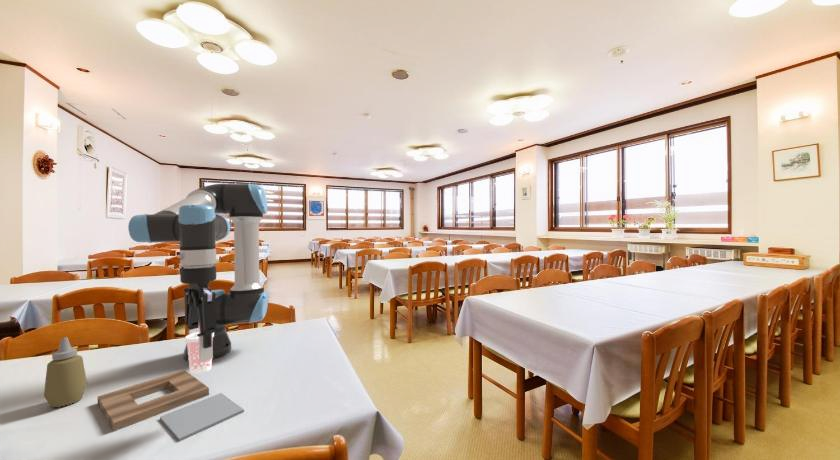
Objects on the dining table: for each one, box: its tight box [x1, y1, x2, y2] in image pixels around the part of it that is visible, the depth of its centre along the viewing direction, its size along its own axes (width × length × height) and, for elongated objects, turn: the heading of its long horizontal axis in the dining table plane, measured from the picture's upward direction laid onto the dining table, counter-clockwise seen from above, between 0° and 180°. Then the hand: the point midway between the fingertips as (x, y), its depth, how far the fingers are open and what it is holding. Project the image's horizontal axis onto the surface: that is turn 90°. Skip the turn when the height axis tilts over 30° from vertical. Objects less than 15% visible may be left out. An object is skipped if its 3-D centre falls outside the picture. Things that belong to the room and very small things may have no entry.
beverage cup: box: [184, 326, 214, 375], centre depth 82 cm, size 6×6×14 cm
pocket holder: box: [97, 369, 210, 432], centre depth 90 cm, size 20×20×2 cm
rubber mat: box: [159, 392, 245, 442], centre depth 82 cm, size 14×14×1 cm
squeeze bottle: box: [43, 337, 88, 408], centre depth 89 cm, size 8×8×18 cm
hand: (200, 356), depth 82 cm, fingers closed on beverage cup, 6 cm apart
